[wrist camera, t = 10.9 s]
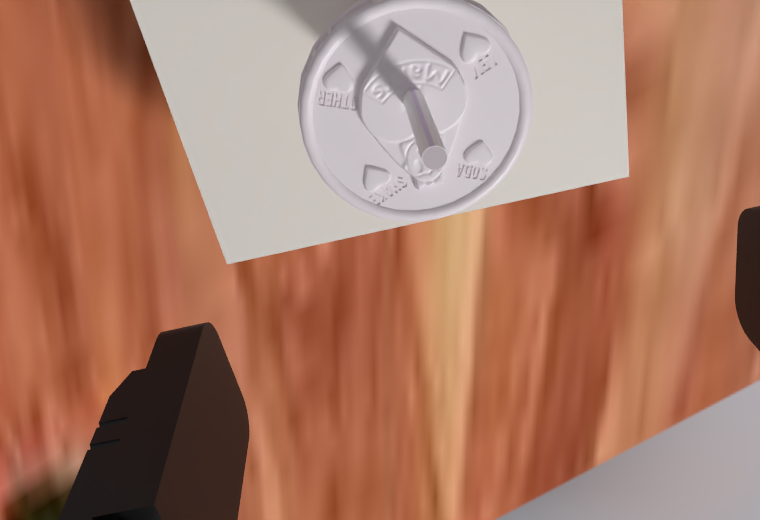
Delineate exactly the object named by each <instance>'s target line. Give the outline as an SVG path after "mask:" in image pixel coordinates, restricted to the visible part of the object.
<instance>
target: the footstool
mask: <svg viewBox="0 0 760 520" xmlns="http://www.w3.org/2000/svg"><path fill="white" fill-rule="evenodd" d="M356 1H357V0H130V2H131V5H132V8H133V11H134V13H135V16H136V19H137V21H138V24H139V27H140V30H141V32H142V35H143V38H144V40H145V43H146V46H147V49H148V51H149V54H150V57H151V59H152V62H153V65H154V67H155V70H156V73H157V76H158V78H159V81H160V84H161V86H162V89H163V92H164V95H165V97H166V100H167V103H168V105H169V108H170V111H171V114H172V116H173V119H174V122H175V124H176V127H177V130H178V133H179V135H180V138H181V141H182V143H183V146H184V149H185V152H186V154H187V157H188V160H189V162H190V165H191V168H192V170H193V173H194V176H195V179H196V181H197V184H198V187H199V189H200V192H201V195H202V198H203V200H204V203H205V206H206V208H207V211H208V214H209V217H210V219H211V222H212V225H213V227H214V230H215V233H216V236H217V238H218V241H219V244H220V246H221V249H222V252H223V254H224V257H225V260H226V263H227V264H231V263H235V262H240V261H244V260H249V259H254V258H258V257H263V256H267V255H272V254H277V253H281V252H286V251H290V250H295V249H299V248H304V247H309V246H313V245H318V244H322V243H327V242H331V241H336V240H341V239H345V238H350V237H354V236H359V235H363V234H368V233H373V232H377V231H382V230H386V229H391V228H395V227H400V226H405V225H409V224H414V223H418V222H423V221H418V222H403V221H394V220H388V219H383V218H380V217H376V216H373V215H370V214H368V213H365V212H363V211H361V210H359V209H357V208H355V207H353V206H351V205H350V204H348V203H347V202H345V201H344V200H343V199H341V198H340V197H339V196H337V195H336V194H335V193H334V192H333V191H332V190H331V189H330V188H329V187H328V186H327V185H326V184H325V183H324V182H323V180H322V179H321V178H320V176H319V175H318V173H317V172H316V170H315V169H314V167H313V165H312V164H311V161H310V159H309V157H308V155H307V153H306V150H305V147H304V144H303V140H302V136H301V131H300V123H299V113H298V106H297V104H298V96H299V87H300V79H301V74H302V71H303V69H304V66H305V64H306V62H307V59H308V57H309V54H310V52H311V49H312V47H313V45H314V44H315V43H316V41H317V40H318V39H319V37H320V36H321V35H322V33H323V32H324V31H325V30H326V28H327V27H328V26H329V24H330V23H331V22H332V20H334V19H335V18H336V17H338V16H339V15H340V14H342V13H343V12H344V11H346V10H347V9H348V8H350V7H351V6H352V5H353V4H354V3H355V2H356ZM473 1H475V2H477V3H479V4H481V5H483V6H484V7H485V8H486V9H487V10H488V11H489V12H490V13H491V14H492V15H493V16H495V17H496V18H497V19H498V20H499V21H500V22H501V23H502V24H503V25H504V26H505V27H506V29H507V31H508V32H509V34H510V36H511V37H512V39H513V40H514V42H515V43H516V45H517V46H518V48H519V50H520V52H521V54H522V55H523V58H524V60H525V63H526V65H527V68H528V71H529V75H530V79H531V85H532V92H533V113H532V120H531V125H530V130H529V134H528V137H527V140H526V143H525V145H524V148H523V150H522V152H521V154H520V156H519V158H518V160H517V161H516V163H515V165H514V166H513V168H512V169H511V170H510V172H509V173H508V174H507V176H506V177H505V178H504V179H503V180H502V182H501V183H500V184H499V185H498V186H497V187H496V188H495V189H494V190H492V191H491V192H490V193H489V194H488V195H486V196H485V197H484V198H482V199H481V200H479V201H478V202H477V203H475V204H473V205H471V206H470V207H468V208H466V209H464V210H462V211H460V212H457V213H455V214H460V213H464V212H469V211H473V210H478V209H482V208H487V207H492V206H496V205H501V204H505V203H510V202H514V201H519V200H524V199H528V198H533V197H537V196H542V195H546V194H551V193H556V192H560V191H565V190H569V189H574V188H578V187H583V186H588V185H592V184H597V183H601V182H606V181H610V180H615V179H620V178H624V177H629V162H628V137H627V111H626V86H625V61H624V36H623V11H622V0H473ZM455 214H452V215H455ZM449 216H450V215H449Z"/></svg>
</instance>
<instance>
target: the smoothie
mask: <svg viewBox="0 0 760 520" xmlns="http://www.w3.org/2000/svg"><path fill="white" fill-rule="evenodd" d="M297 106H298V113H299V123H300V131H301V136H302V140H303V144H304V147H305V150H306V153H307V155H308V157H309V159H310V161H311V164H312V165H313V167H314V169H315V170H316V172H317V173H318V175H319V176H320V178H321V179H322V180H323V182H324V183H325V184H326V185H327V186H328V187H329V188H330V189H331V190H332V191H333V192H334V193H335V194H336V195H337V196H339V197H340V198H341V199H343V200H344V201H345V202H347V203H348V204H350V205H351V206H353V207H355V208H357V209H359V210H361V211H363V212H365V213H368V214H370V215H373V216H376V217H380V218H383V219H388V220H394V221H403V222H418V221H428V220H434V219H439V218H442V217H446V216H449V215H452V214H455V213H457V212H460V211H462V210H464V209H466V208H468V207H470V206H471V205H473V204H475V203H477V202H478V201H479V200H481V199H482V198H484V197H485V196H486V195H488V194H489V193H490V192H491V191H492V190H494V189H495V188H496V187H497V186H498V185H499V184H500V183H501V182H502V180H503V179H504V178H505V177H506V176H507V174H508V173H509V172H510V170H511V169H512V168H513V166H514V165H515V163H516V161H517V160H518V158H519V156H520V154H521V152H522V150H523V148H524V145H525V143H526V140H527V137H528V134H529V130H530V125H531V120H532V113H533V92H532V85H531V79H530V75H529V71H528V68H527V65H526V63H525V60H524V58H523V55H522V54H521V52H520V50H519V48H518V46H517V45H516V43H515V42H514V40H513V39H512V37H511V36H510V34H509V32H508V31H507V29H506V27H505V26H504V25H503V24H502V23H501V22H500V21H499V20H498V19H497V18H496V17H495V16H493V15H492V14H491V13H490V12H489V11H488V10H487V9H486V8H485V7H484V6H483V5H481V4H479V3H477V2H475V1H473V0H357V1H356V2H355V3H354V4H353V5H352V6H351V7H350V8H348V9H347V10H346V11H344V12H343V13H342V14H340V15H339V16H338V17H336V18H335V19H334V20H332V22H331V23H330V24H329V26H328V27H327V28H326V30H325V31H324V32H323V33H322V35H321V36H320V37H319V39H318V40H317V41H316V43H315V44H314V45H313V47H312V49H311V52H310V54H309V57H308V59H307V62H306V64H305V66H304V69H303V71H302V74H301V79H300V87H299V96H298V104H297Z"/></svg>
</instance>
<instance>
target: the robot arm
mask: <svg viewBox="0 0 760 520" xmlns="http://www.w3.org/2000/svg"><path fill="white" fill-rule="evenodd" d="M735 304H736V310H737V314H738V318H739V321H740V323H741V326H742V328H743V330H744V332H745V334H746V335H747V337H748V338H749V339H750V341H751V342H752V343H753V344H754V345H755V346H756V347H757V349H758V350H759V351H760V206H758V207H753V208H748V209H745V210H744V211H743V212H742V213H741V215H740V217H739V221H738V234H737V259H736V284H735ZM99 425H100V427H99V428H96V431H95V433H94V436H93V438H92V441H91V443H90V447H91V449H90V450H87V453H86V455H85V457H84V460H83V462H82V465H81V467H80V469H79V472H78V474H77V477H76V479H75V482H74V484H73V486H72V489H71V491H70V494H69V496H68V498H67V501H66V503H65V506H64V508H63V511H62V513H61V515H60V518H59V520H237V519H238V512H239V505H240V498H241V491H242V484H243V477H244V470H245V463H246V456H247V449H248V442H249V421H248V414H247V409H246V405H245V401H244V398H243V396H242V393H241V391H240V388H239V386H238V383H237V381H236V378H235V376H234V373H233V371H232V368H231V366H230V363H229V361H228V358H227V356H226V353H225V351H224V348H223V346H222V343H221V341H220V338H219V336H218V333H217V331H216V329H215V328H214V326H213V325H212V324H211V323H209V322H207V323H202V324H197V325H193V326H188V327H183V328H179V329H174V330H169V331H165V332H161V333H160V334H159V335H158V337H157V339H156V342H155V345H154V348H153V350H152V353H151V356H150V359H149V361H148V364H147V367H146V369H141V370H136V371H132V372H131V373H130V374H129V375H128V377H127V378H126V379H125V380H124V381H123V382H122V383H121V384H120V386H119V387H118V388H117V389H116V390H115V391H114V392H113V393H112V395H111V396H110V397H109V399H108V402H107V404H106V407H105V409H104V412H103V414H102V416H101V419H100V421H99Z"/></svg>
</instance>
